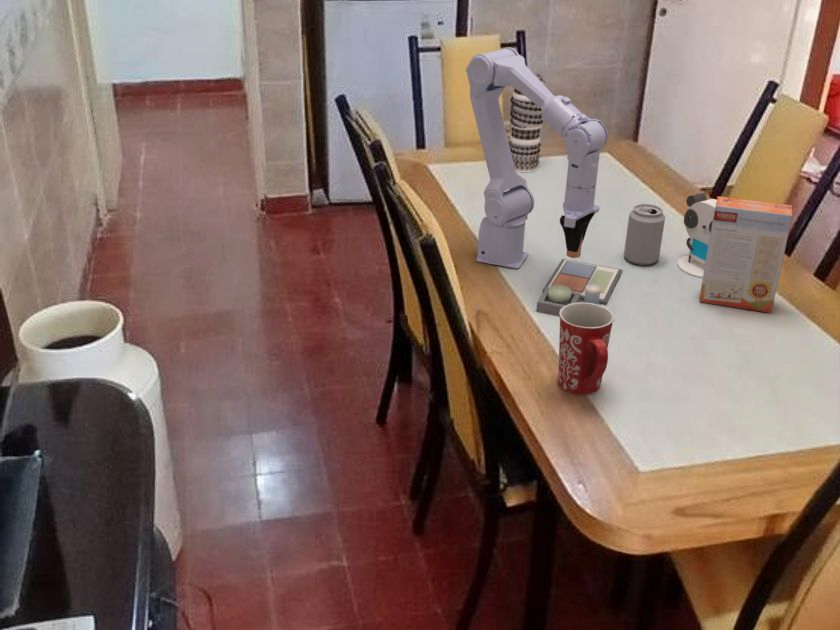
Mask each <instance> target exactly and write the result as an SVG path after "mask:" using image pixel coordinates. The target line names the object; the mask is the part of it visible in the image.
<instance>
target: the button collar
mask: <svg viewBox="0 0 840 630" xmlns="http://www.w3.org/2000/svg"><path fill="white" fill-rule="evenodd" d="M548 291H549V287H546V289H545V290H544V292H543V293H542V294H541V295H540V297H539V298H538V300H537V302H536V309H535V311H536V312H539V313H540V312H541V313H545V314H550V315H555V316H559V311H560V309H561V308H562V307H564V306H566V305H567V304H558V303H553V302H550V301H549V300H548ZM580 298H581V293H576V292H571V300H570V302H569V304H572V303H581V300H580Z"/></svg>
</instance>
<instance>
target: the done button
mask: <svg viewBox="0 0 840 630" xmlns="http://www.w3.org/2000/svg"><path fill="white" fill-rule="evenodd" d="M570 300H571V289H570V288H569V287H567V286H564V285H553V286H551V287H549V291H548V302H553V303H558V304H563V305H568V303H569V302H570ZM569 304H570V303H569Z"/></svg>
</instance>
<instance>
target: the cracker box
mask: <svg viewBox="0 0 840 630" xmlns="http://www.w3.org/2000/svg"><path fill="white" fill-rule="evenodd" d="M716 197H717V198H716V200H717V202H716V206H715V212H714V217H713V223H712V228H711V233H710V239H709V245H708V250H707V256H706V262H705V268H704V274H703V278H702V281H701V286H700V292H699V300H698V301H699V302H700V303H705V304H711V305H712V304H713V305H719V306H726V307H729V308H730V307H732V308H738V309H745V310H750V311H756V312H763V313H769V314H771V313H772V312H773V307H774V303H775V298H776V293H777V288H778V283H779V281H780V280H779V279H780V275H781V271H782V266H783V261H784V258H785V257H784V256H785V251H786V247H787V242H788V238H789V234H790V233H789V232H790V227H791V223H792V219H793V205H791V204H783V203H775V202H768V201H759V200H751V199H745V198H744V199H743V198H734V197H729V196H728V197H727V196H716Z"/></svg>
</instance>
